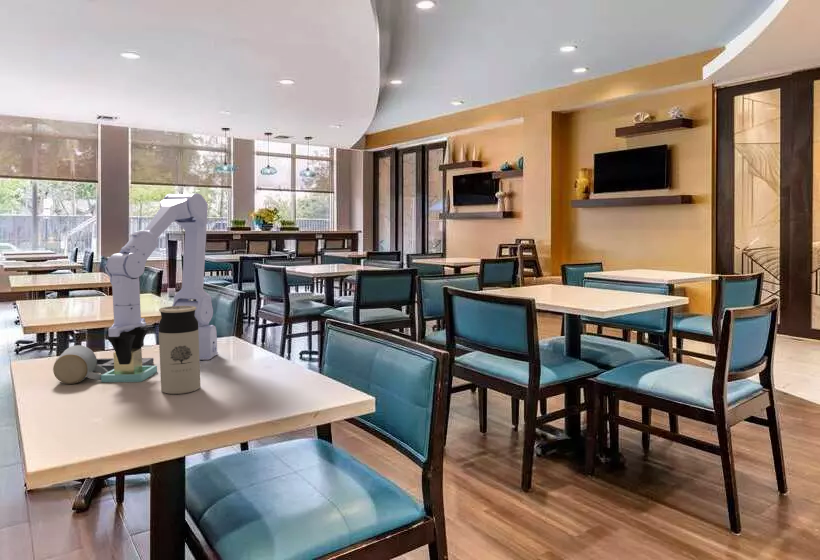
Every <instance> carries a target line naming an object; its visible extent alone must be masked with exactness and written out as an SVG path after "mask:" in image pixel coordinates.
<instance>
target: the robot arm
mask: <svg viewBox="0 0 820 560" xmlns="http://www.w3.org/2000/svg"><path fill="white" fill-rule="evenodd" d="M208 206H209V204H208V202H207V201H206V199H205V198H204V197H203V195H202V194H200V193H196V192H195V193H183V194H181V193H175V194H174V193H168V194H166V195H165V196H164V198H163V199H161V201H160V202H159V209H158V210H157V212H156V214H155V215H154V216H153V218H152V219H151V220H150V222H149V223H148V225H147V226H146V228H145V229H144V230H141V229H140V230H137V231H134V232H133V233H132V234H131V237H130V239H129V240H128V241H127V243H125V245H124V246H122V247H121V248H120V250H119V252H118V253H113V254H111V256H110V257H108V258H107V261H106V265H104V270H105V273H106V274H107V276H108V277H109V283H110V284H111V289H112V291H111V292H112V307H113V308H112V309H113V310H112V311H113V324H112V325H111V327H109V328H108V334H107V340H108V342H109V343H110V344H111V346H112V347H113V350H114V352H115V353H116V355H117V359H118V362H119V364H120V365H121V364H130V359H131V348H141V349H142V348H143V347H142V346H143V343H144V339H145V337H146V335H147V333H148V328H145V327H146V326H147V322H146V318H144V317H143V318H142V312H141V293H140V292H141V291H140V289H141V288H140V277H141V276H142V275H143V274H144V273H145V269H146V263H147V260H148V259H149V257H150V256H151V255H152V253H154V251H155V250H156V249H157V248H158V246H159V241H158V238H160V236H161V235H162V234H163V233H164V232H165V231H167V229H168V228H170V226H171V225H172V223H173V222H174V223H176V224H177V225H178V226H181V228H182V229H183V231H184V244H183V246H184V248H183V263H182V264H183V265H182V281H181V282H182V283H181V289H179V291H178V292H176V294H174V296H173V303H172V305H171V306H195V307H196V310H195V315H194V316H195V318H196V319H197V321H198V333H199V360H200V361H202V360H203V361H205V360H207V361H209V360H212V358H214V357H215V356H216V355H218V354H219V352H218V337H217V336H218V334H217V327H216V326H215V325H214V324H210V322H211V320H212V318H213V316H214V308H213V304H212V296H211V295H210V294H209V293H208V292H206V291H205V290H204V284H205V283H204V280H205V264H206V263H205V262H206V245H207V230H208V229H207V228H208V227H207V224H208Z"/></svg>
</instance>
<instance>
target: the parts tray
mask: <svg viewBox="0 0 820 560" xmlns="http://www.w3.org/2000/svg"><path fill="white" fill-rule="evenodd" d="M157 373H158V365H150V366H142V373H140V374H114V369H113V370H111V371H109V372H107V373H105V374H103V375H101V380H100V382H101V383H142V382H144V381H146V379H149V377H152V376H154V375H155V374H157Z"/></svg>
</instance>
